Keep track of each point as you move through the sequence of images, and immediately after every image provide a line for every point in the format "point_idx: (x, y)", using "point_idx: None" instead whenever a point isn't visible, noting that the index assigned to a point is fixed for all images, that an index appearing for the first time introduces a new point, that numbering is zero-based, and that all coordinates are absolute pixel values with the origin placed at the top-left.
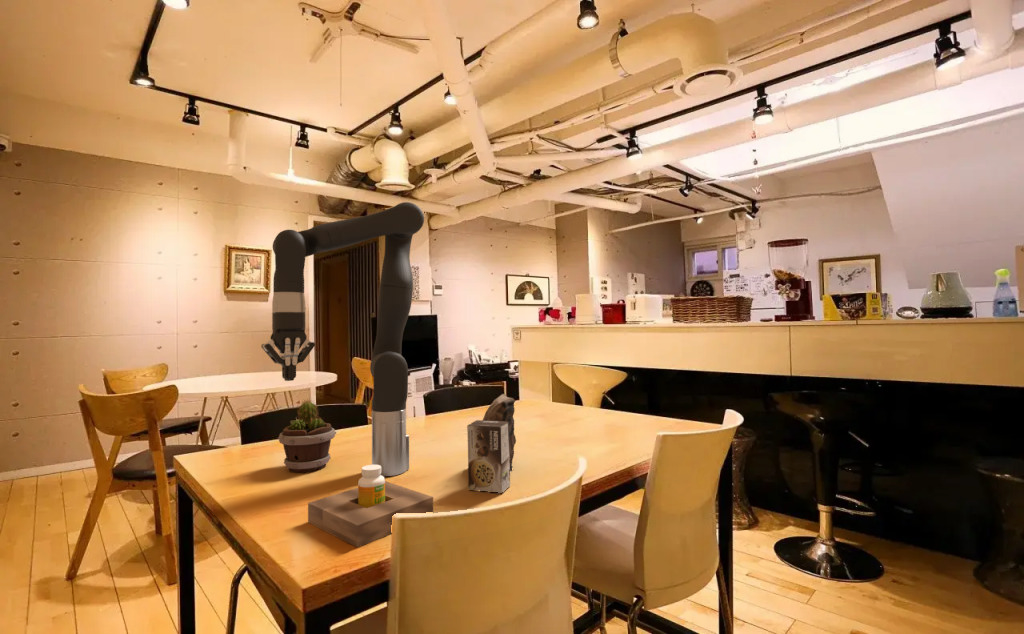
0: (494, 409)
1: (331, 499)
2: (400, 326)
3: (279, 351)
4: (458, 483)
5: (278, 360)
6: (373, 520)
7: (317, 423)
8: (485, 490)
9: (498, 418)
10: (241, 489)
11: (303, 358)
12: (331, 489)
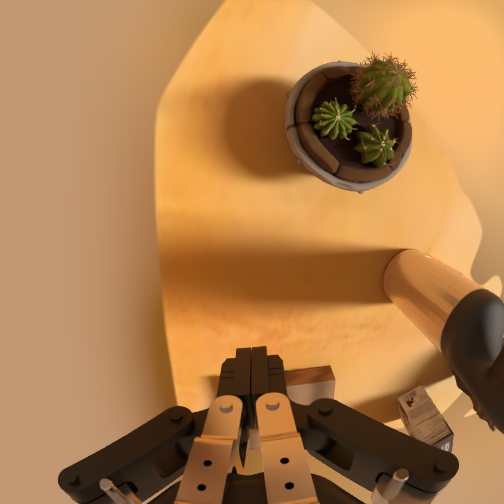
0: None
1: None
2: None
3: (189, 462)
4: (411, 375)
5: (178, 455)
6: (255, 449)
7: (376, 158)
8: (399, 410)
9: (482, 415)
10: (193, 178)
11: (333, 450)
12: (303, 292)
